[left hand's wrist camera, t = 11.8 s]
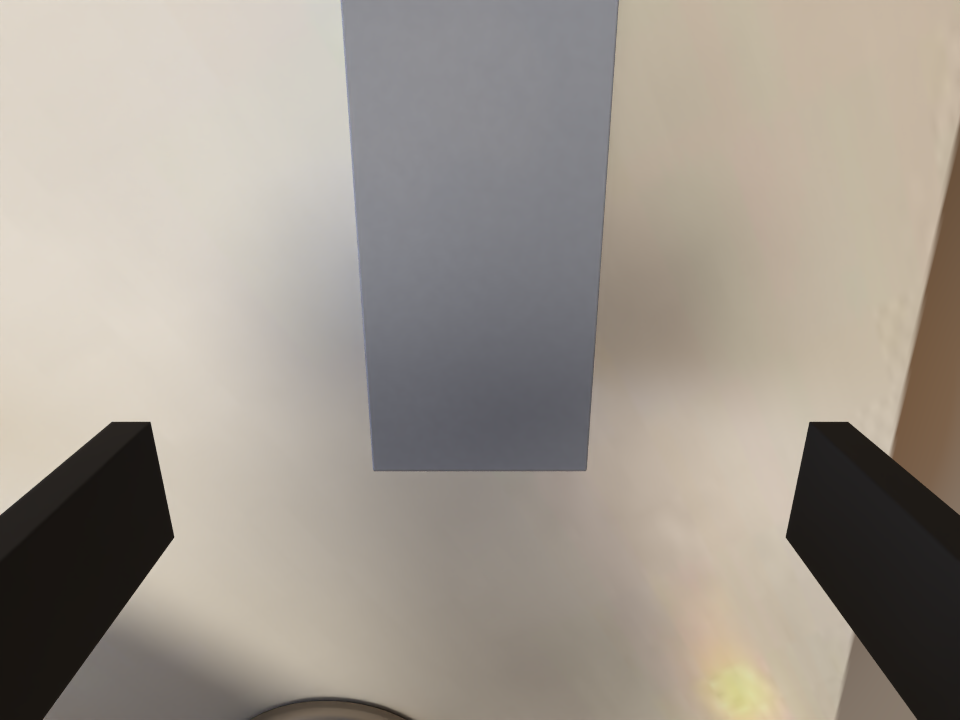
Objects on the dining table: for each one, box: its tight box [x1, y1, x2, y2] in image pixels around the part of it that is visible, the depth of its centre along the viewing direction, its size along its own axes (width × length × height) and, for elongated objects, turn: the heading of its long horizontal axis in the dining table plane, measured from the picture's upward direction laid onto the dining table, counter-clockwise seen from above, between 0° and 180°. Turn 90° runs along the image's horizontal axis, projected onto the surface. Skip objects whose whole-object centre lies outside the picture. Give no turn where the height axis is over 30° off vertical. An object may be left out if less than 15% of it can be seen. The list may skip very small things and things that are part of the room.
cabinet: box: [341, 0, 619, 471], centre depth 21 cm, size 18×6×10 cm, turn 0°
